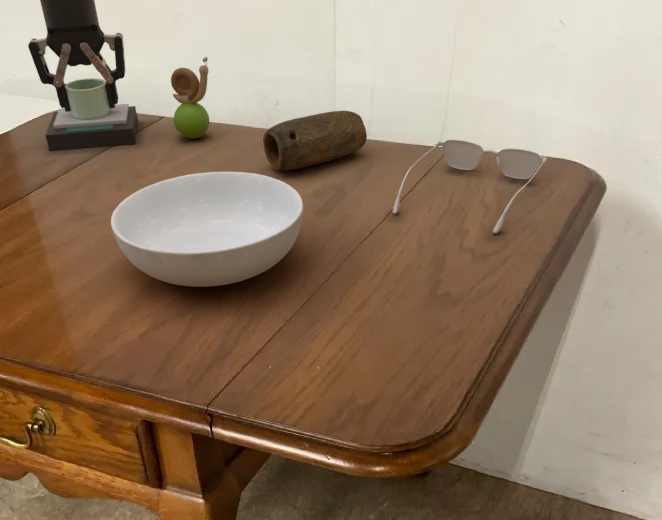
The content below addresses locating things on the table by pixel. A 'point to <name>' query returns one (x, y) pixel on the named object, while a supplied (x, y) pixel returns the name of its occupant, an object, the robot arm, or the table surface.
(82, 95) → the dip bowl
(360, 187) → the table surface
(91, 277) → the table surface
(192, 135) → the snail figurine
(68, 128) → the scale
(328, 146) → the hollow wooden cylinder
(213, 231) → the serving bowl
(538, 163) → the eyeglasses
